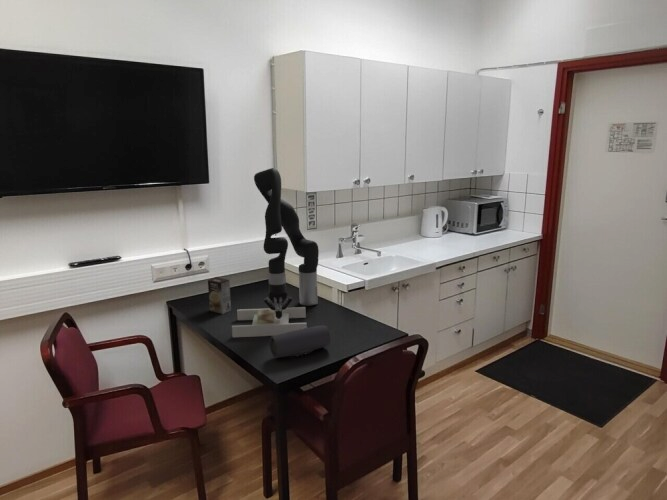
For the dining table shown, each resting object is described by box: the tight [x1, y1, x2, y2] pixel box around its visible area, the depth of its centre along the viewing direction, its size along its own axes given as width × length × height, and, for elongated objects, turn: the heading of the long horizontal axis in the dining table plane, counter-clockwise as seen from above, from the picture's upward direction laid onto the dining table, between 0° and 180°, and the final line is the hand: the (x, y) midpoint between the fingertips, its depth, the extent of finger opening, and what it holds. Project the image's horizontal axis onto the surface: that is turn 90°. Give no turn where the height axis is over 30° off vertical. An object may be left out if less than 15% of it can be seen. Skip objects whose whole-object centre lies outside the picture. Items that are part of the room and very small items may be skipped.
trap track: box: [231, 306, 308, 338], centre depth 211 cm, size 32×20×5 cm, turn 95°
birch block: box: [257, 310, 275, 323], centre depth 210 cm, size 7×6×4 cm
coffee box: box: [207, 276, 232, 315], centre depth 230 cm, size 9×6×16 cm
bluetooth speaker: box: [269, 324, 331, 359], centre depth 184 cm, size 23×9×10 cm, turn 118°
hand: (278, 318), depth 211 cm, fingers closed
